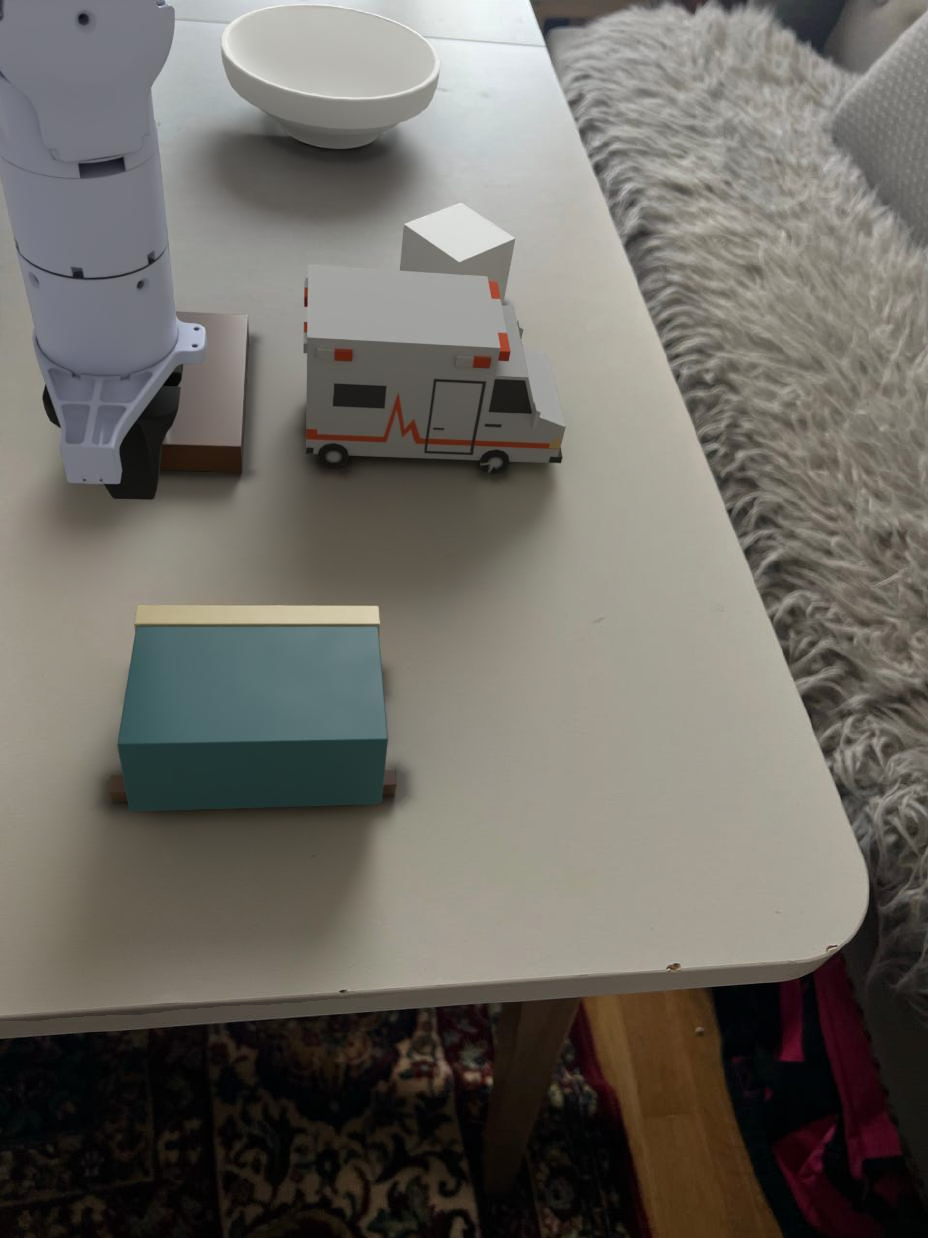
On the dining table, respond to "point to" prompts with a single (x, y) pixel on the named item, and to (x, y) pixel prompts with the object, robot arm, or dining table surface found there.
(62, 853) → the dining table surface
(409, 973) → the dining table surface
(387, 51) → the bowl
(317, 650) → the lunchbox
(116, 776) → the strip
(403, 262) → the white cube
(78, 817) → the dining table surface
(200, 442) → the control box
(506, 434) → the toy vehicle
